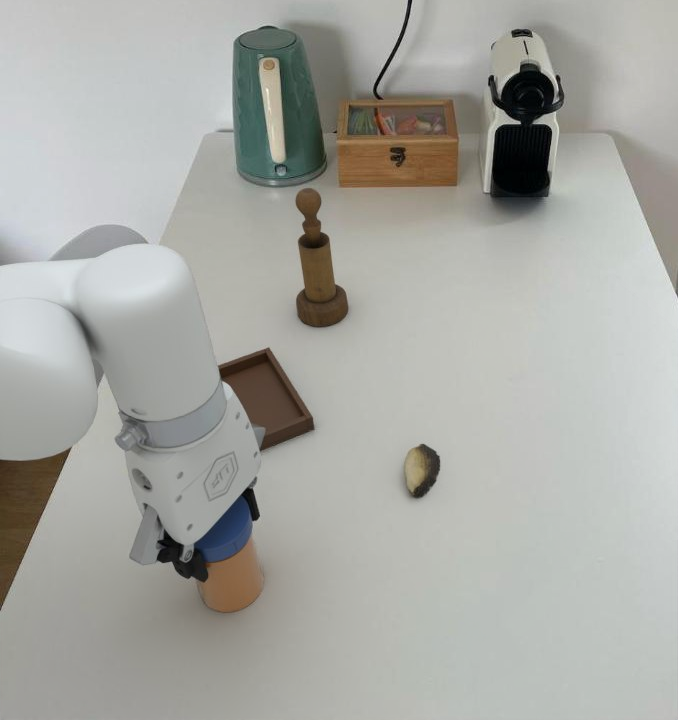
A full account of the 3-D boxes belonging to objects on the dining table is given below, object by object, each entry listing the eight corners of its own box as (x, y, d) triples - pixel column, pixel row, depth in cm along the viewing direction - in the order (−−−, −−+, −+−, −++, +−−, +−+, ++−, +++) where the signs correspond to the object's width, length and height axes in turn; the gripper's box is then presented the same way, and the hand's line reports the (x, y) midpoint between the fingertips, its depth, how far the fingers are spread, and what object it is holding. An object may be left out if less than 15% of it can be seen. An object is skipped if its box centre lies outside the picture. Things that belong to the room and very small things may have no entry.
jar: (211, 623, 74) (189, 563, 67) (191, 573, 77) (169, 511, 71) (273, 594, 76) (258, 533, 69) (251, 547, 79) (234, 485, 73)
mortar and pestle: (329, 289, 109) (314, 170, 97) (358, 312, 106) (346, 191, 94) (288, 310, 106) (267, 190, 94) (316, 334, 103) (299, 212, 90)
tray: (162, 490, 85) (158, 478, 84) (131, 410, 94) (126, 398, 93) (314, 429, 91) (312, 416, 89) (271, 359, 100) (269, 346, 98)
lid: (268, 530, 71) (265, 516, 69) (206, 576, 67) (202, 563, 66) (224, 489, 74) (220, 475, 73) (163, 531, 71) (158, 518, 70)
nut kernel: (415, 502, 82) (419, 479, 81) (381, 476, 85) (385, 454, 83) (455, 476, 87) (460, 455, 85) (422, 453, 89) (426, 431, 88)
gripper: (127, 505, 53) (187, 641, 65) (283, 348, 64) (310, 490, 76) (47, 463, 56) (119, 601, 68) (210, 320, 67) (246, 461, 79)
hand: (219, 541), depth 72 cm, fingers closed on lid, 6 cm apart
